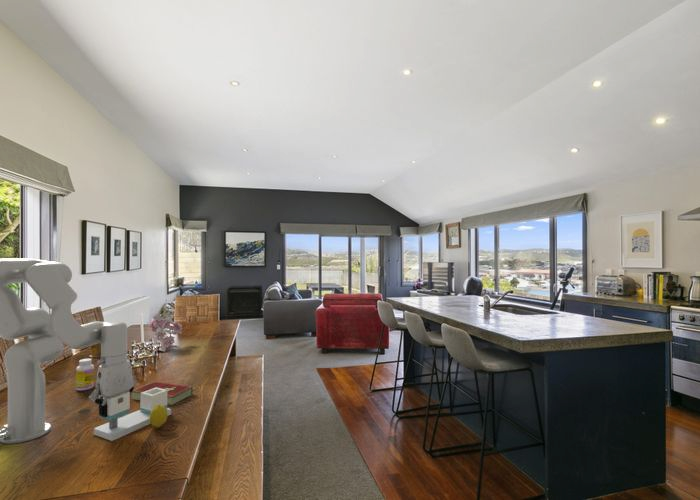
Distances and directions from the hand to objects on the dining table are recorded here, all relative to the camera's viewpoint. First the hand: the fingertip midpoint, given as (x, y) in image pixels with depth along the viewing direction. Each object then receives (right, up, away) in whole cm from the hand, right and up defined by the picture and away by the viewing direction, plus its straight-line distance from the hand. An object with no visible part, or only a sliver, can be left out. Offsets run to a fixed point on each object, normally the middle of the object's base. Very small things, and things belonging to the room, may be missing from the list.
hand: (114, 411), depth 124 cm
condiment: (-70, -8, +94) cm, 118 cm away
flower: (-39, -9, +110) cm, 117 cm away
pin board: (+3, -7, +7) cm, 10 cm away
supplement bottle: (-40, -8, +40) cm, 57 cm away
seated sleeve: (+6, -5, +13) cm, 16 cm away
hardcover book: (0, -8, +31) cm, 32 cm away
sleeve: (0, -1, 0) cm, 1 cm away
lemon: (+13, -8, +4) cm, 16 cm away
